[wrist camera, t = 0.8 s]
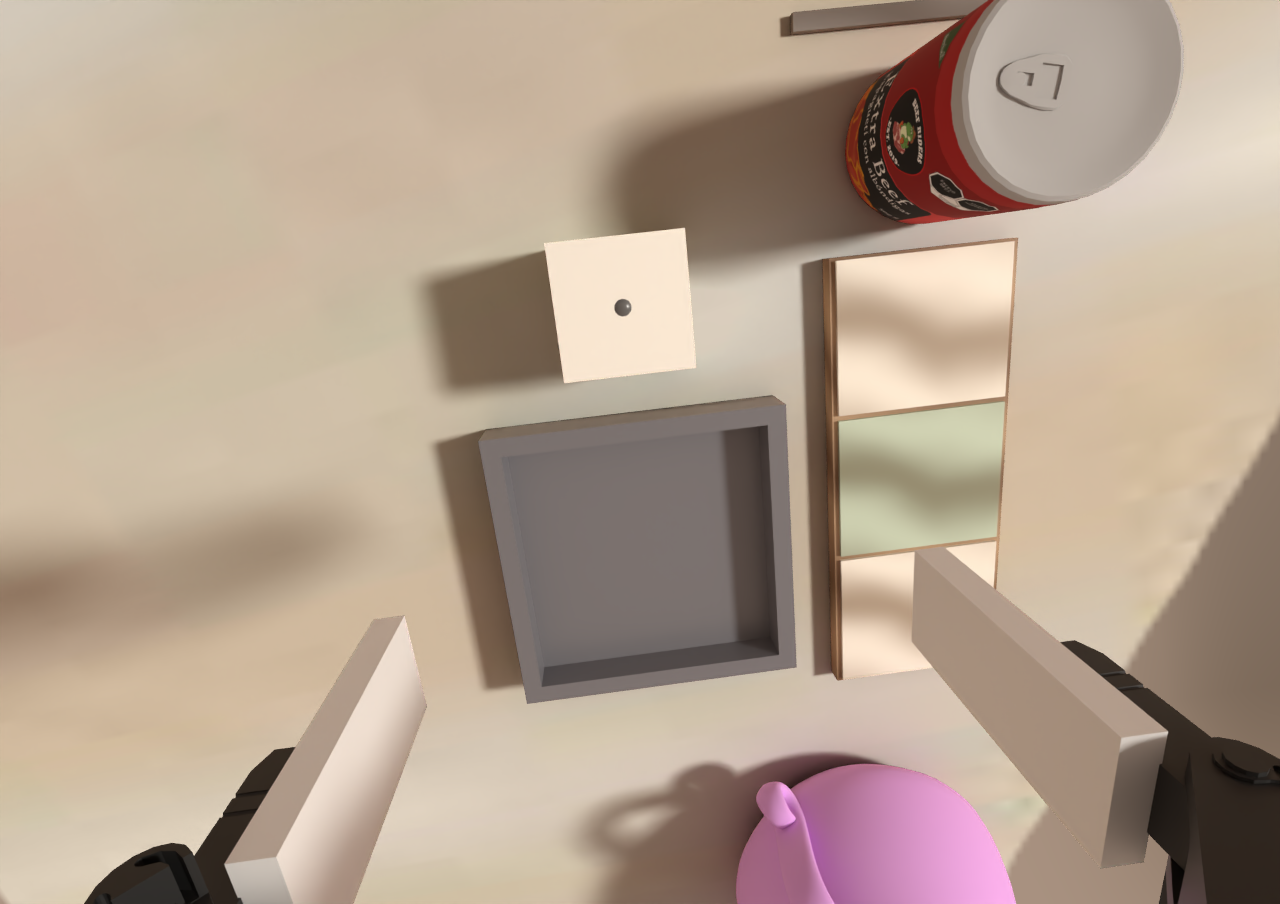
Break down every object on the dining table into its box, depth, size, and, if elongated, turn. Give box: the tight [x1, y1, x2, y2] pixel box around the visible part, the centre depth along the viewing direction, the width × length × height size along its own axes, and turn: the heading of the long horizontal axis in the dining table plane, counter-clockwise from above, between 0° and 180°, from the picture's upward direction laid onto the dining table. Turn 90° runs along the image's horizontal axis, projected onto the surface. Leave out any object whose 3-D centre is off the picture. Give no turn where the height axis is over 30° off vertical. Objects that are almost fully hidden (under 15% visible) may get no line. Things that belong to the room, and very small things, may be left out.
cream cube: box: [544, 228, 696, 383], centre depth 30 cm, size 6×6×6 cm
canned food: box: [845, 0, 1184, 224], centre depth 27 cm, size 8×8×11 cm
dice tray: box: [478, 395, 796, 704], centre depth 36 cm, size 16×16×2 cm
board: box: [790, 0, 1018, 680], centre depth 35 cm, size 37×13×1 cm, turn 6°
